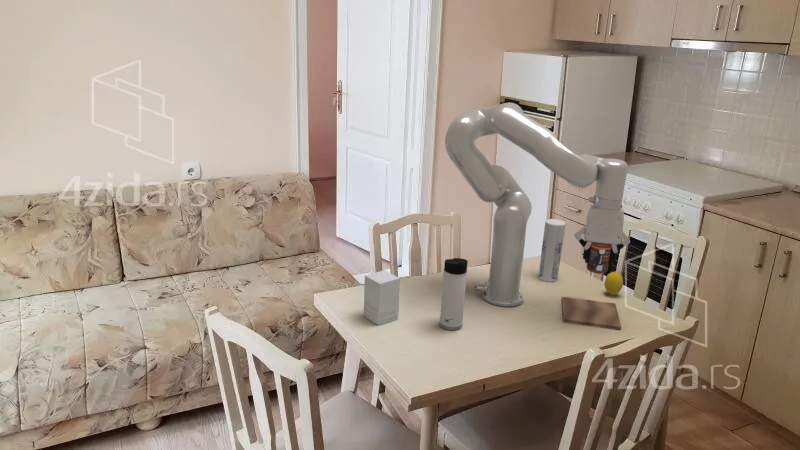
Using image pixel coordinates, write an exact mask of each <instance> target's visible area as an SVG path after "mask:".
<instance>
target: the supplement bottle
mask: <svg viewBox="0 0 800 450" xmlns="http://www.w3.org/2000/svg"><path fill="white" fill-rule="evenodd" d="M611 248H612V245H611V244H602V243H594V242H592V243H591V245H590V247H589V249H590V253H589V260H588V263H586V269H587V271H588V272H590V273H592V274H597V275H603V274H606V273H607V272H609V271H608V270H609V266H610V265H609V259H610V253H611Z"/></svg>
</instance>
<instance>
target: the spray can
mask: <svg viewBox="0 0 800 450" xmlns="http://www.w3.org/2000/svg"><path fill="white" fill-rule="evenodd" d="M566 225H567V223H566V222H565V221H564V220H561V219H556V218H549V219H546V220H545V222H544V231H543V238H542V245H541V253H540V254H541V255H540V262H539V271H538V279H539V280H541V281H543V282H546V283H554V282H557V281H558V278H559V271H560V264H561V258H562V257H561V256H562V251H563V243H564V239H565V238H564V236H565V229H566Z"/></svg>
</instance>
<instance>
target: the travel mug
mask: <svg viewBox="0 0 800 450" xmlns="http://www.w3.org/2000/svg"><path fill="white" fill-rule="evenodd" d="M468 263H469V261H468V259H465V258H460V257H454V258H447V259H445V260H444V265H443V266H444V268H443V275H442V276H443V277H442V287H441V288H442V290H441V300H440V301H441V302H440V312H439V313H440V314H439V315H440V316H439V317H440V318H439V326H440V328H442V329H444V330H446V331H457V330H460V329H462V327H463V319H464V308H465V296H466V285H467V276H468V275H467V273H468Z"/></svg>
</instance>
